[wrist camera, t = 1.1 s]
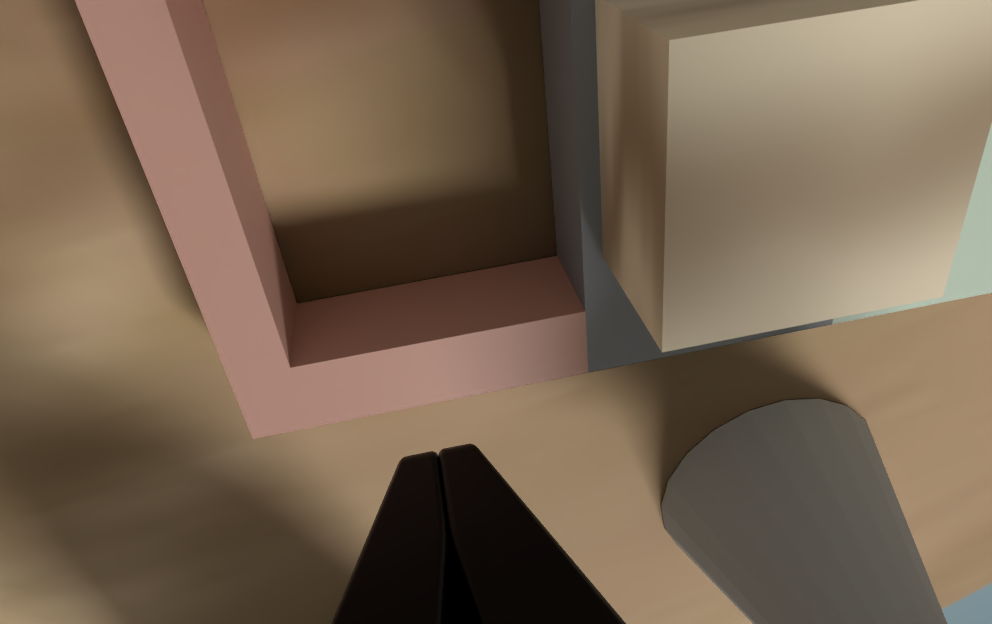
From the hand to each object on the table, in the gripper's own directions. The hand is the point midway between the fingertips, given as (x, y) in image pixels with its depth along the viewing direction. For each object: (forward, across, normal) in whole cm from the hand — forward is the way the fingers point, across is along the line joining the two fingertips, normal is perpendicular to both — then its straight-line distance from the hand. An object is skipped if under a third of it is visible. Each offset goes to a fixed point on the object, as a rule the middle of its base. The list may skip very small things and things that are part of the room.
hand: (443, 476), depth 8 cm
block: (+9, -8, 0) cm, 12 cm away
